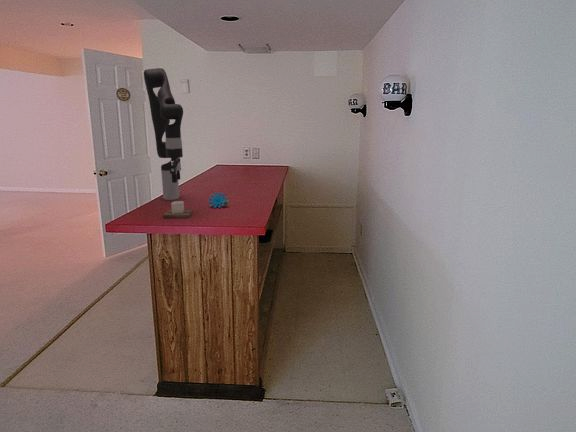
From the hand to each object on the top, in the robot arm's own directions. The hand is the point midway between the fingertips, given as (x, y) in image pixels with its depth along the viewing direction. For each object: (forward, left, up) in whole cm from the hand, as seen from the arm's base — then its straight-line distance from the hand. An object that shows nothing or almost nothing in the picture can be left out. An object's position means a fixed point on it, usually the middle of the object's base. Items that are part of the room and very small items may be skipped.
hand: (176, 181), depth 199 cm
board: (0, 0, -17) cm, 17 cm away
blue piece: (-17, +18, -17) cm, 31 cm away
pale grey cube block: (0, 0, -16) cm, 16 cm away
